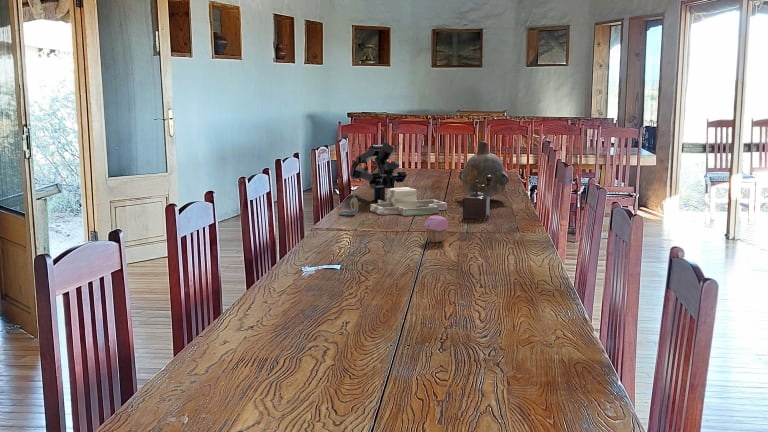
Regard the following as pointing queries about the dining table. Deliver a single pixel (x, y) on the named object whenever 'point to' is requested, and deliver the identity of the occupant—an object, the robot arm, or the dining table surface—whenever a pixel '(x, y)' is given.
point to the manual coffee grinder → (477, 202)
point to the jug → (484, 172)
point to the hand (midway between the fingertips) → (393, 191)
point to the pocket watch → (352, 204)
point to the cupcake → (436, 228)
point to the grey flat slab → (422, 205)
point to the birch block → (402, 197)
